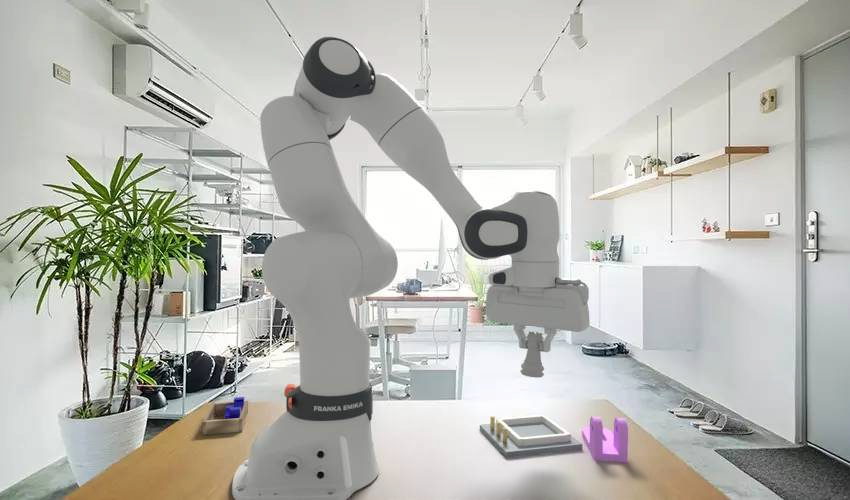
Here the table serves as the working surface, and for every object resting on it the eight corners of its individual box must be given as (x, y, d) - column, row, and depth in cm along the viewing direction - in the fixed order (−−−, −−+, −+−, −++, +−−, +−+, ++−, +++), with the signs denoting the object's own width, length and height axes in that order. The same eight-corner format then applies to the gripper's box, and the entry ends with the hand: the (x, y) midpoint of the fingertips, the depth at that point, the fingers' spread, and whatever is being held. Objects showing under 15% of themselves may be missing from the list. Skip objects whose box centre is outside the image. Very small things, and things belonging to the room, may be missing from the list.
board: (506, 457, 85) (506, 437, 85) (479, 429, 98) (479, 412, 98) (582, 449, 89) (582, 430, 89) (547, 423, 102) (547, 406, 101)
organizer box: (202, 434, 94) (202, 422, 94) (212, 414, 105) (212, 403, 105) (242, 431, 96) (242, 418, 96) (248, 412, 106) (248, 400, 106)
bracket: (627, 463, 84) (628, 422, 84) (593, 461, 85) (594, 421, 85) (608, 433, 97) (608, 398, 97) (579, 432, 98) (580, 397, 97)
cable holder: (227, 416, 104) (227, 398, 104) (244, 415, 105) (244, 396, 105) (221, 430, 97) (221, 410, 97) (240, 429, 97) (240, 409, 97)
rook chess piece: (539, 373, 94) (543, 332, 95) (547, 378, 90) (551, 335, 90) (517, 371, 94) (520, 330, 94) (523, 376, 90) (527, 333, 90)
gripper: (595, 278, 88) (595, 355, 88) (498, 273, 101) (498, 340, 101) (581, 280, 83) (580, 361, 83) (481, 275, 96) (481, 344, 97)
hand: (534, 349), depth 92 cm, fingers closed on rook chess piece, 3 cm apart
